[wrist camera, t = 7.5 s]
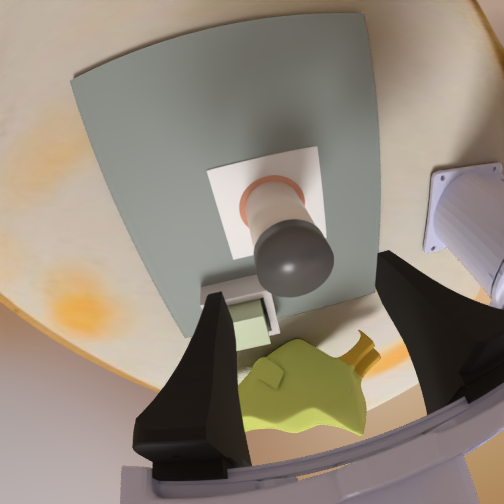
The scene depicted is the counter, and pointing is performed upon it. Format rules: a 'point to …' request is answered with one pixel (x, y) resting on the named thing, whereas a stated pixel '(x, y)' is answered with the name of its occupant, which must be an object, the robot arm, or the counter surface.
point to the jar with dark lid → (286, 242)
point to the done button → (249, 324)
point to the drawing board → (241, 153)
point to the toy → (307, 388)
